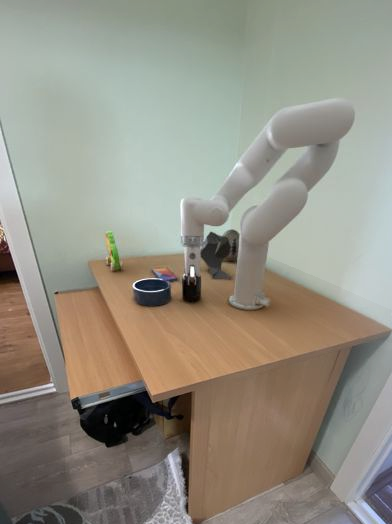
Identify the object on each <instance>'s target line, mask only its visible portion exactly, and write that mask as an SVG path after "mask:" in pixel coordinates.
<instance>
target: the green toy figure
mask: <svg viewBox="0 0 392 524" xmlns="http://www.w3.org/2000/svg"><path fill="white" fill-rule="evenodd" d="M105 244H106V248H107V252H108V256H106V257H105V261H106V266H110V270H111V272H115V271H117V270H120V271H123V270H124V264H123V262H122V261H120V255H119V251H118V247H117V245H116V241H115V237H114V234H113V232H112V231H105Z"/></svg>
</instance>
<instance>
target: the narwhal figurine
mask: <svg viewBox="0 0 392 524" xmlns="http://www.w3.org/2000/svg"><path fill="white" fill-rule="evenodd" d="M230 250H231V244H230V242H229V239H228V238H227V237H226V236H222V235H220V234H217V233H216V232H214V231H209V233H208V235H206V238H204V245H203V246H201V247H200V251H201V258H200V259H201V260H202V261H203V262H204V263H205V265H206V266H207V273H210V274H211V276H212V279H213V280H233V278H232V276H230V275H229V274H227V273H226V272H224V271H223V270H222V264H223V261H224V258H225V257H227V256H228V255H229V253H230V252H231V251H230Z"/></svg>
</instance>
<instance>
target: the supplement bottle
mask: <svg viewBox="0 0 392 524" xmlns="http://www.w3.org/2000/svg"><path fill="white" fill-rule="evenodd" d="M189 275H190V274H189ZM194 275H195V274H194ZM189 280H190V278H189ZM189 283H190V282H189ZM187 284H188V277H187V276H186V271H185V270H184V274H182V277H181V298H182V301H183V302H185V303H192V304H193V303H198V302H200V300H201V299H202V275H200V277H198V276H196V284H197V288H196V296H188V295H187Z"/></svg>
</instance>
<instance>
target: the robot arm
mask: <svg viewBox="0 0 392 524" xmlns="http://www.w3.org/2000/svg"><path fill="white" fill-rule="evenodd" d="M355 116H356V112H355V107H354V105H353V103H352V102H351V101H350V100H349V99H348V98H344V97H333V98H328V99H323V100H317V101H313V102H307V103H302V104H297V105H289V106H285V107H282V108H281V109H279V110H277V111H276V112H275V113H274V114H273V115H272V117H271V118H270V119H269V120H268V122H267V123H266V124H265V125H264V126H263V128H262V129H261V131H260V132H259V133H258V135H257V136H256V137H255V138H254V139H253V141H252V142H251V144H250V145H249V147H247V149H246V150H245V152H244V153H243V154H242V155H241V157H240V158H239V159H238V160H237V162H236V163H235V165H234V167H233V168H232V170H231V172H230V173H229V175H228V176H227V177H226V178H225V179H224V181H223V182H222V183H221V185H220V187H219V188H218V189H217V190H216V191H215V192H214V194H213V195H212V196H211V198H210V199H209V200H207V199H206V200H204V198H201V197H194V196H190V197H189V196H188V197H184V198H182V199H181V201H180V245H181V247H183V249H184V254H183V255H184V272H185V271H186V276H187V277H188V284H187V295H188V296H196V288H197V284H196V276H198V277H200V276H201V259H202V258H201V246H203V245H204V241H205V226H211V227H221V226H223V225H224V224H226V223H227V221H228V220H229V216H230V213H231V212H232V210H233V209H234V208H235V207H236V205H237V204H238V203H239V202H240V201H241V200H242V199H243V198H244V197H245V195H246V194H247V193H248V192H249V191H251V190H252V189H254V188H255V187H257V186H258V185H259V184H260V183H261V182H262V181H263V180H264V179H265V177H266V176H267V175H268V174H269V172H270V171H271V170H272V169H273V167H274V166H275V165H276V164H277V163H278V161H279V160H280V159H281V158H282V157H283V155H284V154H286V152H287V151H288V150H289V149H296V148H304V147H306V148H305V150H304V151H303V153H302V154H301V155H300V156H299V158H298V159H297V160H296V161H295V162H294V163H293V164H292V165H291V166H290V167H289V168H288V169H287V170H286V171H285V173H284V174H282V176H280V177H279V178H278V179H277V180H276V181H275V182H274V183H272V185H271V187H270V189H269V191H268V194H267V196H265V198H264V199H263V200H262V201H261V202H260V203H259V204H258V205H252V206H250V207H248V208H247V209H246V210H245V211H244V213H243V214H242V216H241V219H240V223H239V234H240V237H239V249H238V258H237V259H236V260H237V261H236V271H235V278H234V279H235V280H234V291H233V294H232V295H231V296H229V299H228V303H229V304H230V305H231V306H233V307H235V308H236V309H239V310H240V309H241V310H247V311H248V310H249V311H252V310H253V311H255V310H259V309H261V308H263V307H266V308H268V307H269V306H270V303H271V299H270V298H268V297H265V292H264V291H263V286H264V278H265V272H266V267H267V259H268V254H269V244H270V241H272V240H273V239H274V238H275V237H276V236H278V234H280V232H281V231H283V230H284V229H285V228H286V227H287V226H288V225H289V224H290V223H291V222H292V221H293V220H294V219H296V217H297V216H299V214H300V213H301V212H302V211H303V209H304V208H305V206H306V205H307V202H308V197H309V192H310V191H311V190H312V189H314V187H315V186H316V185H317V184H318V183H319V182H320V181H321V180H322V179H323V178H324V177H325V176H326V174H328V172H329V171H330V169H331V168H332V166H333V164H334V162H335V160H336V158H337V155H338V153H339V148H340V142H341V139H343V138H344V137H345V136H346V135H348V133H349V132H350V131H351V130H352V127H353V125H354V122H355ZM189 274H190V275H189ZM194 274H195V275H194ZM189 278H190V280H189ZM189 282H190V283H189Z"/></svg>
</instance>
